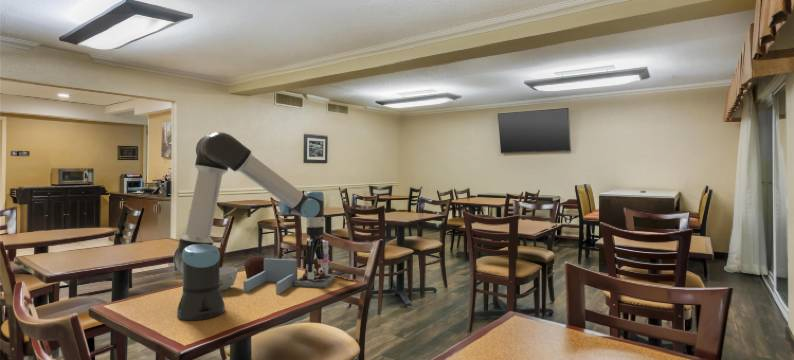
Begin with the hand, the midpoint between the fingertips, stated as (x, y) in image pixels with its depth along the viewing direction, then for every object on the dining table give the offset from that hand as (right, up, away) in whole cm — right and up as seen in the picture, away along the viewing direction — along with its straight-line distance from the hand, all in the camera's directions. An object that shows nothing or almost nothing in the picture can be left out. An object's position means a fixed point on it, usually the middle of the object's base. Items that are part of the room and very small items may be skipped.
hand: (314, 276), depth 188 cm
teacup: (-36, -3, -11) cm, 38 cm away
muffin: (-29, -3, +9) cm, 30 cm away
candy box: (-2, -3, +18) cm, 18 cm away
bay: (-17, -3, -7) cm, 19 cm away
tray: (0, -3, 0) cm, 3 cm away
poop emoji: (0, -1, 0) cm, 1 cm away
